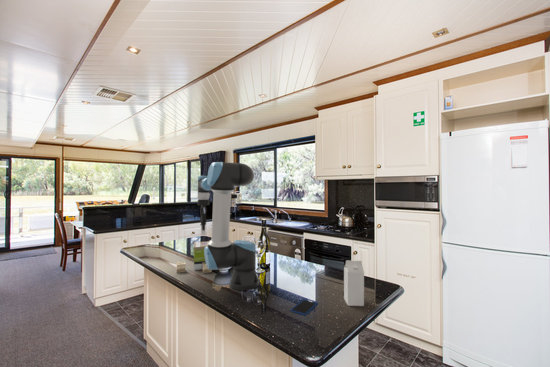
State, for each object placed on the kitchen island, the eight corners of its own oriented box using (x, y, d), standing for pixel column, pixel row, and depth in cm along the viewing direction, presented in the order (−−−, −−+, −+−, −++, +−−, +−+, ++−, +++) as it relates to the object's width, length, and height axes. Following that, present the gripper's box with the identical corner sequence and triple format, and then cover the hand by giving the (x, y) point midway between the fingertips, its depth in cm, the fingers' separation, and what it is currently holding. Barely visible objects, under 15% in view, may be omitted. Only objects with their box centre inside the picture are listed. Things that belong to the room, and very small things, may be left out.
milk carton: (343, 299, 120) (344, 258, 120) (359, 299, 120) (359, 258, 120) (347, 306, 113) (347, 262, 113) (364, 306, 113) (364, 263, 113)
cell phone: (318, 304, 116) (318, 302, 116) (305, 317, 104) (305, 315, 104) (303, 300, 119) (303, 298, 119) (289, 312, 108) (289, 310, 108)
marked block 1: (185, 271, 157) (185, 263, 157) (176, 272, 156) (176, 264, 156) (185, 269, 162) (185, 261, 162) (176, 270, 160) (176, 262, 160)
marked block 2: (211, 272, 157) (211, 263, 157) (203, 273, 155) (203, 264, 156) (210, 269, 162) (210, 261, 162) (202, 270, 160) (202, 262, 160)
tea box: (193, 263, 175) (194, 241, 175) (208, 262, 178) (209, 240, 178) (193, 270, 160) (193, 246, 161) (210, 268, 163) (210, 245, 164)
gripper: (210, 199, 165) (210, 236, 164) (208, 198, 177) (207, 233, 177) (198, 199, 162) (198, 236, 162) (196, 198, 174) (196, 233, 174)
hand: (203, 234), depth 169 cm, fingers closed
